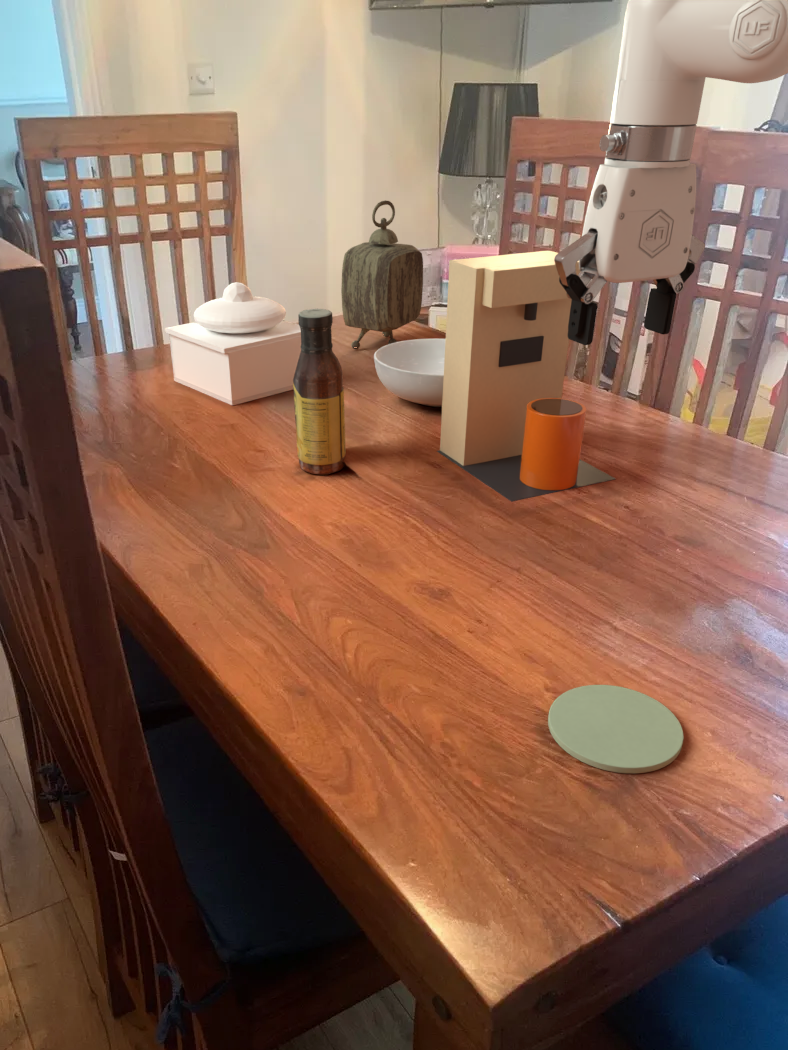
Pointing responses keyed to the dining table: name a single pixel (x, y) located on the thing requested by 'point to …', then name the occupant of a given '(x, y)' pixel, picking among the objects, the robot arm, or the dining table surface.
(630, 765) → the coaster
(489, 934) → the dining table surface
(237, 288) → the white lidded box
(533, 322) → the coffee maker
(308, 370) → the sauce bottle
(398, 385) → the serving bowl
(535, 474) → the orange cup
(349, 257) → the tabletop clock
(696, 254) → the robot arm
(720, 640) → the dining table surface
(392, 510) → the dining table surface
